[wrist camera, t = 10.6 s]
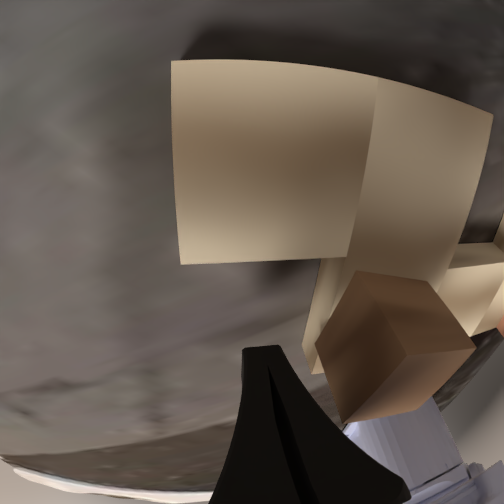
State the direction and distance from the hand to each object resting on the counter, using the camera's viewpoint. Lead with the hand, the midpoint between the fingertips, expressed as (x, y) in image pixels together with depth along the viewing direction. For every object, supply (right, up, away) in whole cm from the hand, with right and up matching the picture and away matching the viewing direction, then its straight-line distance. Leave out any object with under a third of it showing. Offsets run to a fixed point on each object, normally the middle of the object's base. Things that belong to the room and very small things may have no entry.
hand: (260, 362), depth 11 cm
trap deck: (+7, +5, +2) cm, 9 cm away
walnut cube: (+5, +2, +1) cm, 5 cm away
